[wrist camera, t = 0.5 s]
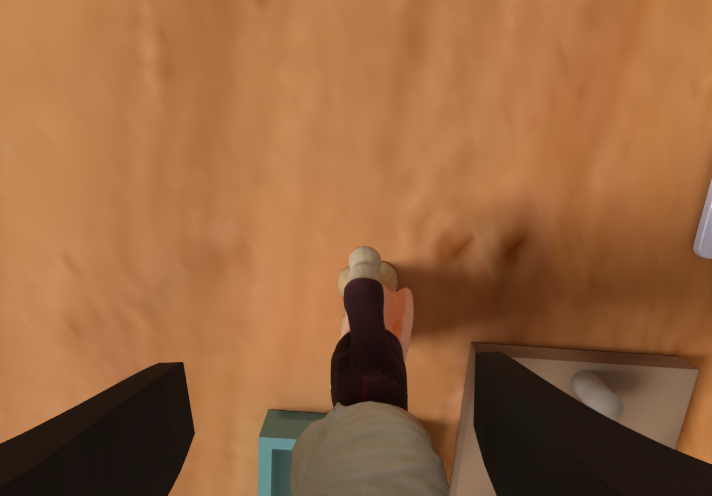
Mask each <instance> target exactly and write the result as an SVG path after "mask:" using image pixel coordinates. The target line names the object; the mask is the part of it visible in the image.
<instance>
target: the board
mask: <svg viewBox="0 0 712 496" xmlns="http://www.w3.org/2000/svg"><path fill="white" fill-rule="evenodd" d="M475 352H502V353H504V354H506V355H508V356H509V357H511V358H513V359H514V360H516V361H517V362H519V363H520V364H522V365H523V366H525V367H526V368H528V369H529V370H531V371H532V372H534V373H535V374H537V375H538V376H540V377H542V378H543V379H545V380H546V381H548V382H549V383H551V384H552V385H554V386H556V387H557V388H559V389H560V390H562V391H563V392H565V393H567V394H568V395H570V396H572V397H573V398H575V399H577V400H578V401H580V402H582V403H583V404H585V405H587V406H589V407H590V408H592V409H594V410H596V411H598V412H599V413H601V414H603V415H605V416H606V417H608V418H610V419H612V420H614V421H616V422H618V423H620V424H622V425H624V426H625V427H628V428H630V429H632V430H634V431H636V432H638V433H640V434H642V435H644V436H646V437H648V438H651V439H653V440H655V441H657V442H659V443H661V444H663V445H666V446H668V447H670V448H672V449H675V448H676V445H677V442H678V438H679V435H680V432H681V428H682V425H683V422H684V418H685V415H686V412H687V408H688V405H689V402H690V398H691V395H692V392H693V388H694V385H695V382H696V378H697V375H698V372H699V369H697V368H696V367H694V366H693V365H691V364H690V363H688V362H687V361H686V360H684V359H683V358H681V357H679V356H664V355H649V354H634V353H619V352H604V351H589V350H574V349H559V348H544V347H529V346H514V345H499V344H484V343H471V346H470V353H469V360H468V367H467V373H466V380H465V387H464V394H463V400H462V407H461V414H460V421H459V427H458V434H457V441H456V448H455V454H454V461H453V468H452V475H451V481H450V488H449V496H497V495H496V493H495V490H494V488H493V485H492V483H491V481H490V478H489V476H488V473H487V471H486V468H485V466H484V462H483V459H482V455H481V452H480V448H479V445H478V441H477V437H476V433H475V430H474V426H473V421H474V384H475Z"/></svg>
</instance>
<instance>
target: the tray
mask: <svg viewBox="0 0 712 496" xmlns="http://www.w3.org/2000/svg"><path fill="white" fill-rule="evenodd" d="M326 415H327V414H324V413H309V412H294V411H278V410H268V412H267V415H266V418H265V420H264V423H263V426H262V429H261V432H260V435H259V469H258V496H292V493H291V485H290V473H291V467H292V449H293V446H294V444H295V441H296V440H297V439H298V437H299V436H300V435H301V434H302V432H303V431H304V430H305V429H306V428H307V427H308V426H309V425H310V424H311V423H312V422H314V421H317V420H321V419H323V418H325V417H326Z"/></svg>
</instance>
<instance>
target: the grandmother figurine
mask: <svg viewBox="0 0 712 496" xmlns="http://www.w3.org/2000/svg"><path fill="white" fill-rule="evenodd" d="M397 287H398V280H397V274H396V272H395V270H394V269H393V268H392V267H391V266H390V265H389V264H387V263H385V262H381V257H380V255H379V253H378V252H377V251H376V250H375V249H374V248H372V247H368V246H362V247H359V248H356V249H355V250H354V251H353V252H352V254H351V255H350V259H349V268H346V269H345V270H343V271H342V272H341V273H340V275H339V277H338V289H339V292H340V294H341V296H342V297H343V298H344V307H345V310H346V316H345V317H344V318H343V320H342V323H341V327H340V332H341V337H340V341H339V342H338V344H337V346H336V348H335V351H334V353H333V356H332V359H331V396H332V402H333V407H334V408H333V409H331V410H330V411H329V413H328V414H327V415H326V417H325V418H323V419H321V420H317V421H314V422H312V423H311V424H310V425H309V426H308V427H307V428H306V429H305V430H304V431H303V432H302V434H301V435H300V436H299V437H298V439H297V440H296V441H295V444H294V446H293V449H292V467H291V473H290V485H291V493H292V496H449V486H448V482H447V477H446V472H445V470H444V466H443V461H442V460H441V458H440V457H439V456H438V455H437V454H436V452H435V448H434V445H433V442H432V440H431V438H430V436H429V434H428V432H427V431H426V429H425V428H424V427H423V425H422V424H421V423H420V421H419V420H418V419H416V418H415V417H414V416H413V415H412V414H410V413H409V412H408V405H407V398H408V396H407V374H406V367H405V360H406V356H407V352H408V348H409V344H410V338H411V331H412V326H413V318H414V304H413V295H412V292H411V290H410V289H408V288H406V287H405V288H402V289H400V290H399V291H397V292H396V290H397Z"/></svg>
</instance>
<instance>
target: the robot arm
mask: <svg viewBox="0 0 712 496" xmlns="http://www.w3.org/2000/svg"><path fill="white" fill-rule="evenodd" d="M693 250H694V252H695V254H697V255H698V256H701V257H704V258H708V259H712V180H711V183H710V187H709V190H708V194H707V198H706V201H705V205H704V209H703V212H702V216H701V220H700V223H699V227H698V231H697V234H696V238H695V242H694V246H693ZM473 426H474V430H475V433H476V437H477V441H478V445H479V448H480V452H481V455H482V459H483V462H484V466H485V468H486V471H487V473H488V476H489V478H490V481H491V483H492V485H493V488H494V490H495V493H496V495H497V496H712V464H709V463H707V462H704V461H702V460H699V459H697V458H694V457H692V456H689V455H687V454H684V453H682V452H679V451H677V450H675V449H672V448H670V447H668V446H666V445H663V444H661V443H659V442H657V441H655V440H653V439H651V438H648V437H646V436H644V435H642V434H640V433H638V432H636V431H634V430H632V429H630V428H628V427H625V426H624V425H622V424H620V423H618V422H616V421H614V420H612V419H610V418H608V417H606V416H605V415H603V414H601V413H599V412H598V411H596V410H594V409H592V408H590V407H589V406H587V405H585V404H583V403H582V402H580V401H578V400H577V399H575V398H573V397H572V396H570V395H568V394H567V393H565V392H563V391H562V390H560V389H559V388H557V387H556V386H554V385H552V384H551V383H549V382H548V381H546V380H545V379H543V378H542V377H540V376H538V375H537V374H535V373H534V372H532V371H531V370H529V369H528V368H526V367H525V366H523V365H522V364H520V363H519V362H517V361H516V360H514V359H513V358H511V357H509V356H508V355H506V354H504V353H502V352H475V384H474V421H473ZM194 434H195V431H194V425H193V419H192V413H191V407H190V401H189V395H188V389H187V382H186V376H185V370H184V364H183V362H172V363H158V364H155V365H153V366H150V367H148V368H146V369H144V370H142V371H140V372H138V373H136V374H134V375H132V376H130V377H129V378H127V379H125V380H123V381H121V382H119V383H117V384H116V385H114V386H112V387H110V388H108V389H106V390H105V391H103V392H101V393H99V394H97V395H96V396H94V397H92V398H90V399H88V400H86V401H85V402H83V403H81V404H79V405H77V406H75V407H73V408H71V409H69V410H68V411H66V412H64V413H62V414H60V415H58V416H56V417H54V418H52V419H50V420H48V421H46V422H44V423H42V424H40V425H38V426H36V427H34V428H32V429H31V430H28V431H26V432H24V433H22V434H20V435H18V436H16V437H14V438H12V439H10V440H7V441H5V442H3V443H1V444H0V496H168V494H169V492H170V490H171V489H172V487H173V485H174V483H175V481H176V479H177V477H178V475H179V473H180V471H181V469H182V466H183V464H184V461H185V459H186V456H187V454H188V451H189V448H190V445H191V442H192V440H193V437H194Z"/></svg>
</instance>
